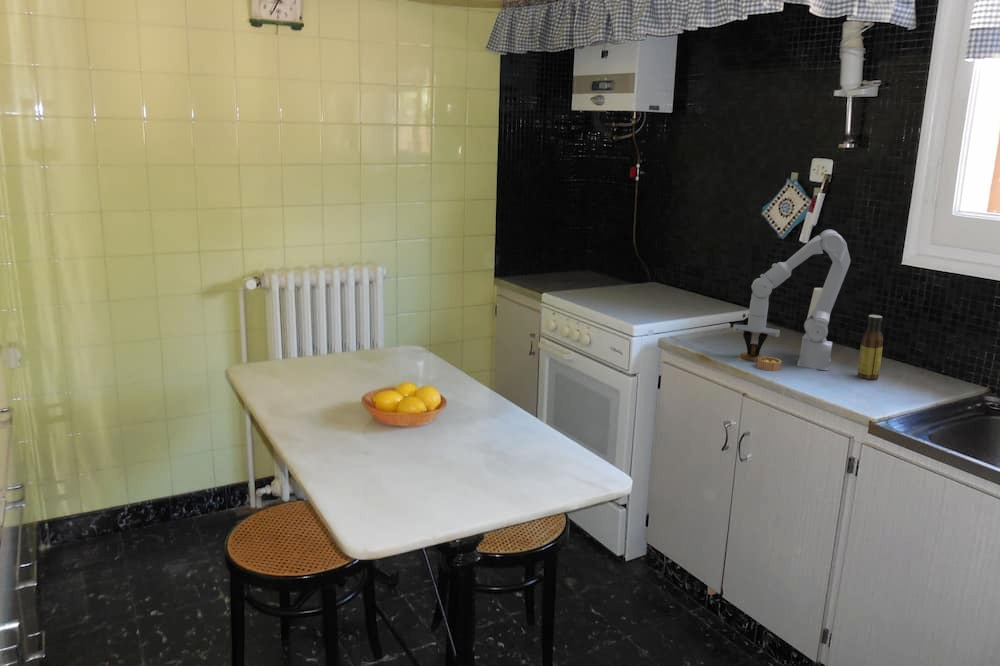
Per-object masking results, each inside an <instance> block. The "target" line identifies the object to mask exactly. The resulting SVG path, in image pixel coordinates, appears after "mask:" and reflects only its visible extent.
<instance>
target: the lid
mask: <svg viewBox="0 0 1000 666" xmlns="http://www.w3.org/2000/svg"><path fill="white" fill-rule="evenodd" d="M757 348H758V343H754V342H753V343H752V342H751V347H750V355H748V354H747V351H746V352H740V353H741V354H740V353H739V355H740V358H741V359H743V360H742V361H744V360H746V362H752V363H758V358H759V357H767V356H766V355H764V354H761V353H759V356H756V352H757Z"/></svg>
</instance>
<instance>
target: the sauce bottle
mask: <svg viewBox="0 0 1000 666" xmlns="http://www.w3.org/2000/svg"><path fill="white" fill-rule="evenodd" d="M882 322H883V316H881V315H878V314H869V315H868V316H867V326H866V330H865V332H864V334H863V335H862V338H861V341H860V342H861V343H860V350H859V351H860V352H859V357H858V364H857V365H858V366H857V371H858V372H857V376H858V377H860V378H862V379H864V380H871V381H872V380H877V379H879V376H880V375H879V374H880V372H881V362H882V357H883V356H882V354H883V348H884V347H883V343H884V336H883V333H882V332H881V330H882V329H881V327H882Z"/></svg>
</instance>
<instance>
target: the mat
mask: <svg viewBox="0 0 1000 666" xmlns="http://www.w3.org/2000/svg"><path fill="white" fill-rule="evenodd" d="M741 353H742V352H740V353H739V355H738V356H737V359H736V360H739V361H746V360H743V359H741V358H740V354H741ZM746 362H747V361H746Z"/></svg>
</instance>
